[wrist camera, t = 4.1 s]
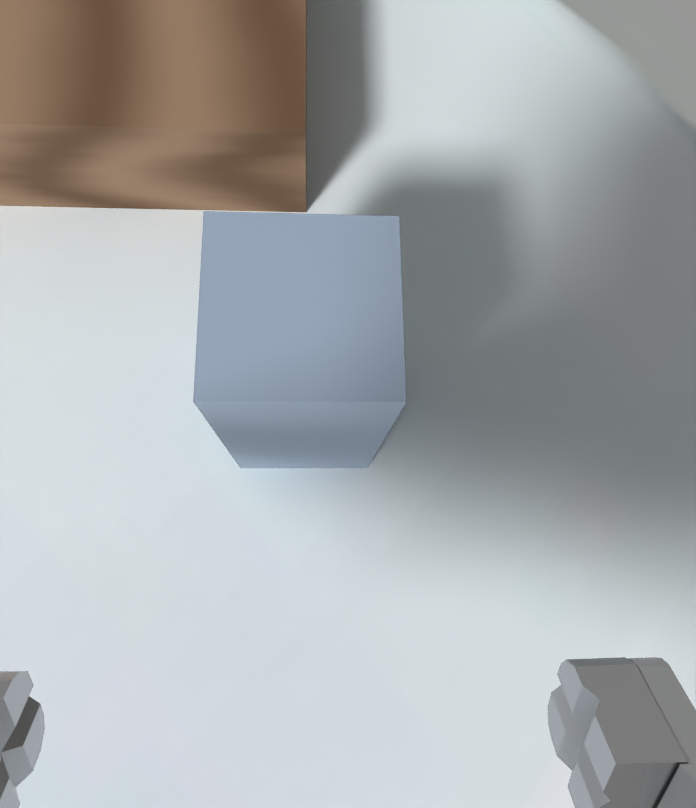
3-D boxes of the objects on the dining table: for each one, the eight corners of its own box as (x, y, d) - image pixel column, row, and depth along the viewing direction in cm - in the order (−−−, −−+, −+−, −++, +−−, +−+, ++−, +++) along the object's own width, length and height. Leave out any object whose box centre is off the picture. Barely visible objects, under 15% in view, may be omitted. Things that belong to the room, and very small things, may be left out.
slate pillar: (240, 468, 21) (193, 401, 13) (244, 347, 23) (203, 211, 14) (367, 467, 22) (406, 402, 13) (365, 349, 23) (399, 216, 14)
